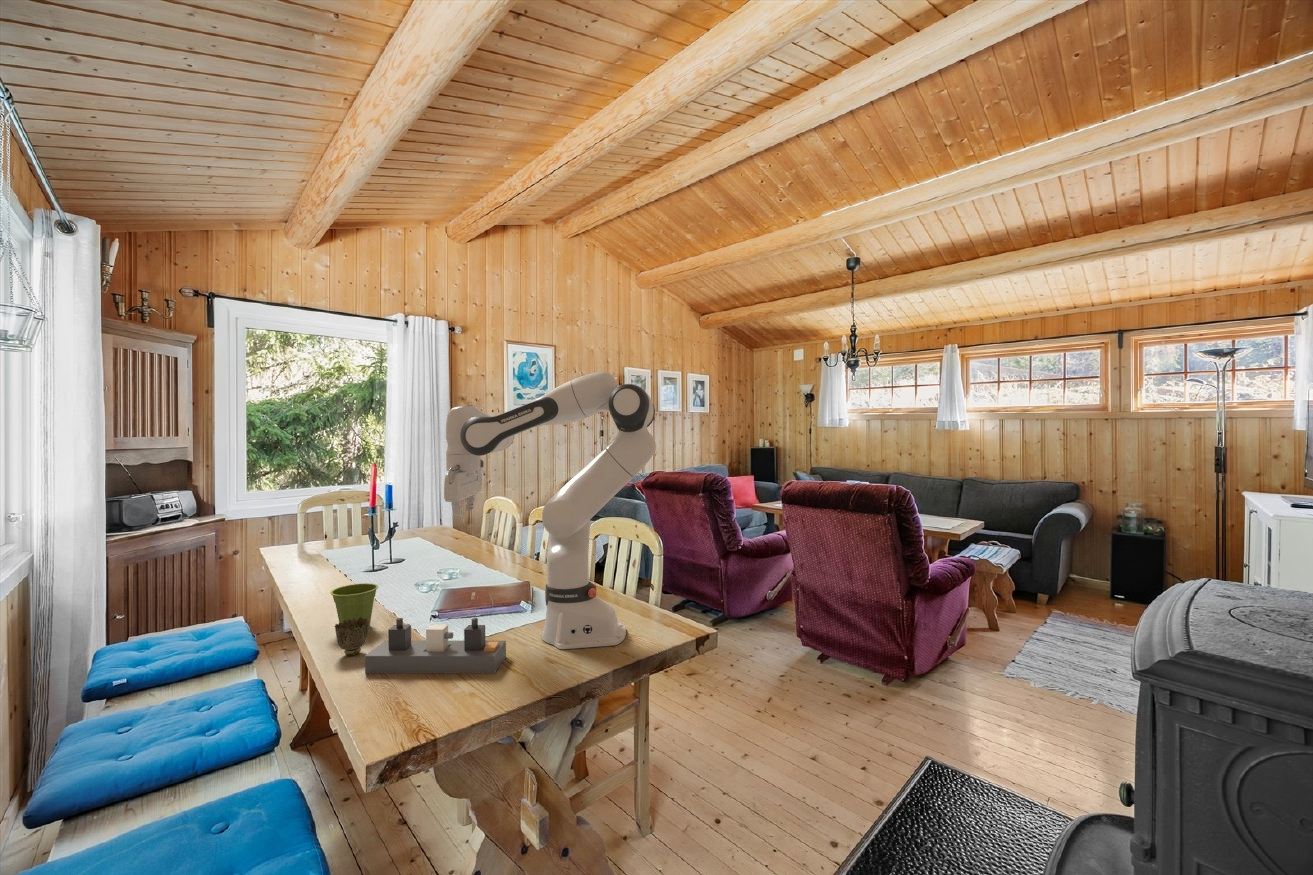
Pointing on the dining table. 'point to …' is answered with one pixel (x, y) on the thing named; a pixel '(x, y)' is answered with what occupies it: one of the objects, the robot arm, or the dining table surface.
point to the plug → (437, 638)
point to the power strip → (436, 653)
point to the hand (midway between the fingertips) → (464, 513)
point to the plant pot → (354, 601)
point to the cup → (352, 635)
